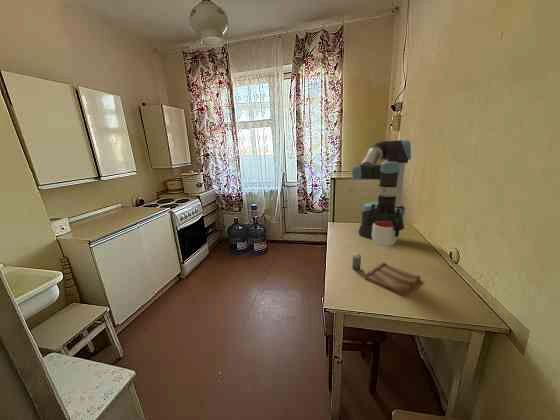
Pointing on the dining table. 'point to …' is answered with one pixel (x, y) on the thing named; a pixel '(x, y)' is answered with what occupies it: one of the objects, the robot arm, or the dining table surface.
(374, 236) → the cup
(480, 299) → the dining table surface
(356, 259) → the shaker
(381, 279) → the board
